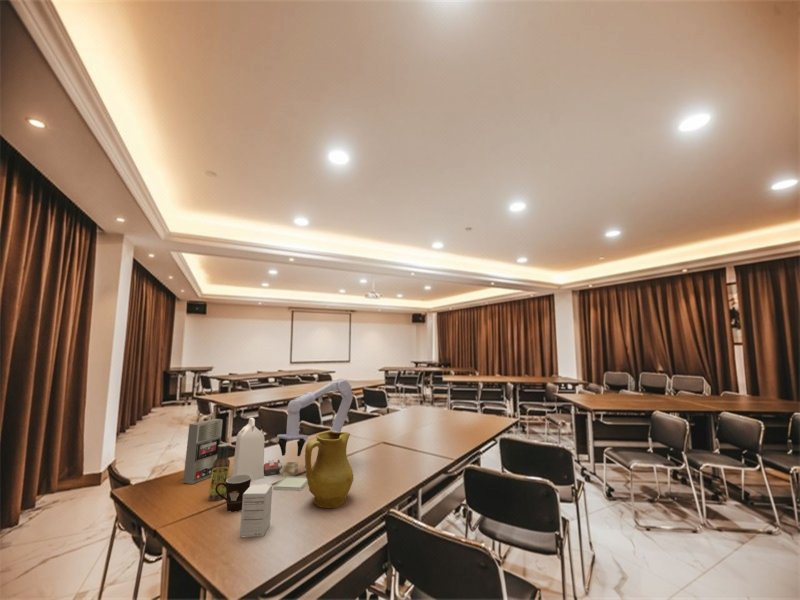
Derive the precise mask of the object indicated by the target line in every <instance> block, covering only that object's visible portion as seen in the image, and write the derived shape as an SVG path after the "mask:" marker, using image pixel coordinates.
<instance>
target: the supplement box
mask: <svg viewBox="0 0 800 600" xmlns="http://www.w3.org/2000/svg"><path fill="white" fill-rule="evenodd" d="M272 495H273V484H270V483H269V484H252V485H251V484H250V487H249V488H248V489H247V490H246V491H245V492H244V494H243V501H242V510H241V516H240V517H241V518H240V528H239V529H240V531H239V538H243V537H242V536H258V537H264V535H265V534H266V532H267V530H268V528H269V527H270V526H271V517H272V514H271V513H272V499H273V496H272Z"/></svg>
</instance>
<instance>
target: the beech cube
mask: <svg viewBox="0 0 800 600" xmlns="http://www.w3.org/2000/svg"><path fill="white" fill-rule="evenodd" d="M282 470H283V471H282V477H283V478H284V477H286V476H294V477H296V475H298V471H299V462H297V461H296V462H294V461H287V462H286V463H284V465H283V466H282Z"/></svg>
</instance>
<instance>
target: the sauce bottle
mask: <svg viewBox="0 0 800 600" xmlns="http://www.w3.org/2000/svg"><path fill="white" fill-rule="evenodd" d="M229 449H230V444H229V443H221V444H220V445H218V455H217V458H216V460H215V461H214V463H213V469H212V474H211V477H210V483H209V489H208V490H209V491H208V495H209V496H208V499H209V500H210V501H219V500H224V499H223V498H222V497H220V496H219V495H218V494H217V493H216V491H215V488H216V486H217V485H218V484H220V483H225V484H226V480H227V479H228V478H229V473H230V464H231V463H230V459H229V457H228V456H229V455H228V454H229ZM217 491H218V492H219V494H221V495H222V496H224V497H225V498H226V487H225V486H224V485H219V486H218V487H217Z"/></svg>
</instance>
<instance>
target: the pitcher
mask: <svg viewBox="0 0 800 600" xmlns="http://www.w3.org/2000/svg"><path fill="white" fill-rule="evenodd" d="M350 435H351V433H350V432H348V431H346V432H345V431H343V432H342V431H341V432H333V431H330V430H328V431H322V432H318V433H316V434H315V437H316V439H310V440H308V441H307V443H306V445H305V454H304V462H305V463H304V464H305V465H304V467H305V477H306V478H307V481H308V483H307V485H308V490H309V492H310V493H311V494H312V495H313V496H314V498H313V504H315V506H317V507H320V508H324V509H332V508H333V509H335V508H337V507H341V506H342V505H344V503H345V502H346V500H347V498H346V497H347V495H348V493H349V491H350V490H351V488H352V485H353V481H354V472H353V469H352V466H351V464H350V462H349V460H348V456H347V446H348V441H349V439H350V438H349V437H350ZM315 448H318V449H317V455H316V459H315V462H314V463H313V465H312V453H313V452H312V451H313V449H315Z"/></svg>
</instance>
